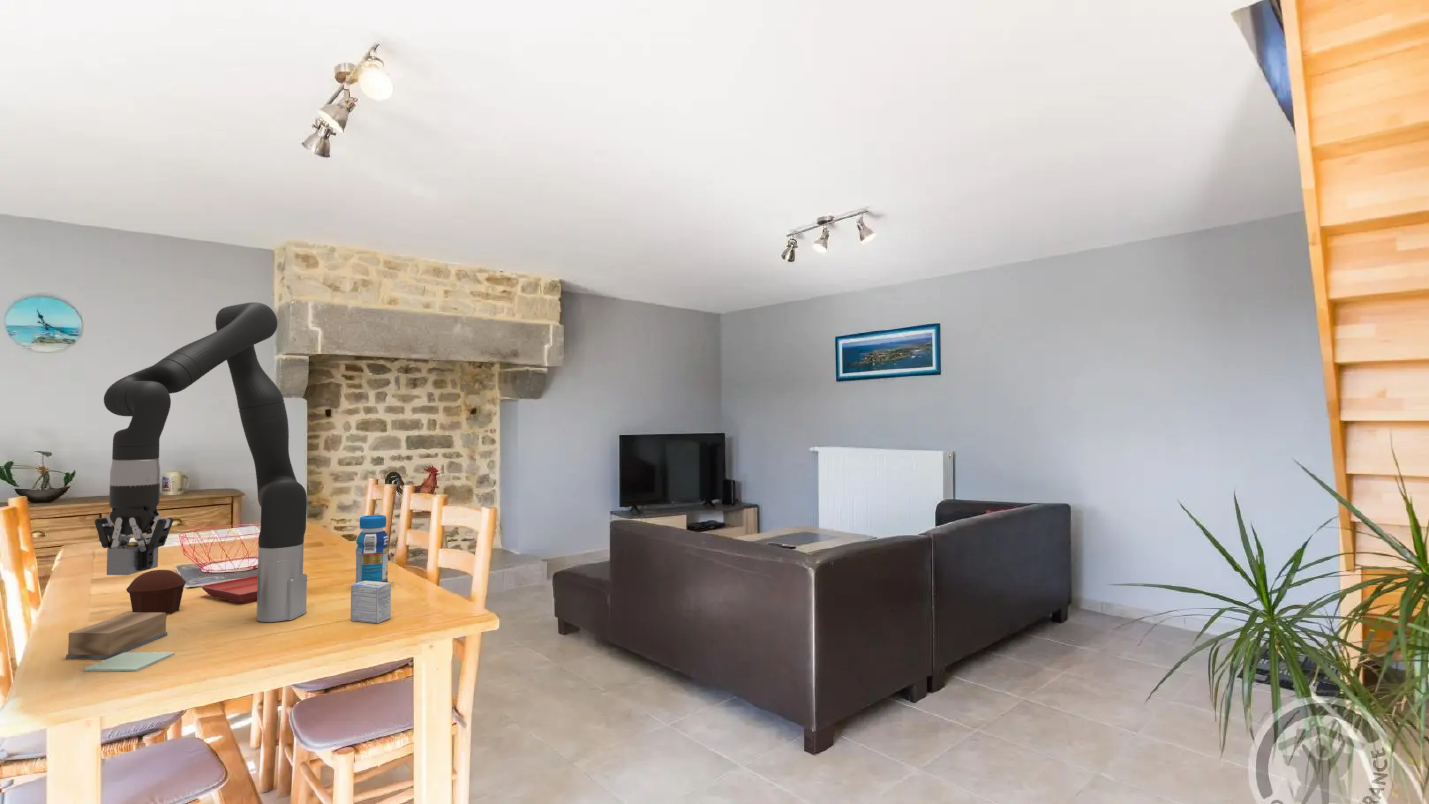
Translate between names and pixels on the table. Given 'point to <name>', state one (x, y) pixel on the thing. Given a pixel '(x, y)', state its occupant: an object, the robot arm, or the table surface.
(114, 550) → the block with brass knob
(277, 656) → the table surface
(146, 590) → the muffin
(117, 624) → the body
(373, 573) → the beverage bottle
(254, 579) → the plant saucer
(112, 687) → the table surface
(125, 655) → the mat
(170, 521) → the robot arm
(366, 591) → the medicine box
